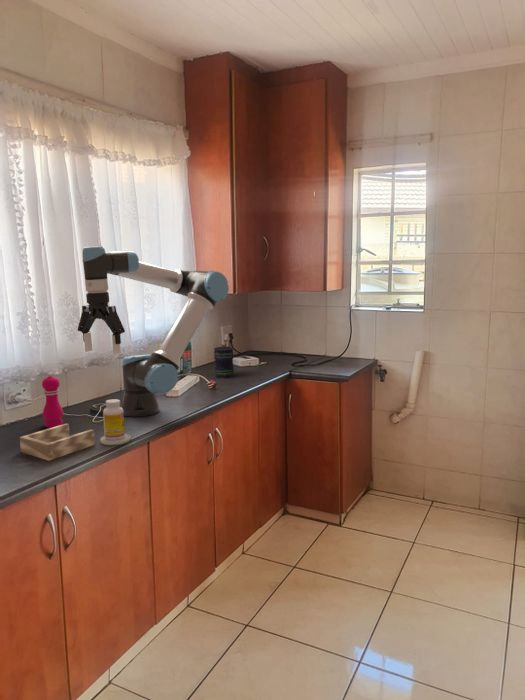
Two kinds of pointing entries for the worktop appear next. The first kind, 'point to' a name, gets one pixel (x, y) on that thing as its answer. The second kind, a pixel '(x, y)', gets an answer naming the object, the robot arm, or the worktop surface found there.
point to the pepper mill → (52, 402)
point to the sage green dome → (115, 442)
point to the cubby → (55, 442)
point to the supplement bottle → (113, 420)
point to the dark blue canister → (223, 362)
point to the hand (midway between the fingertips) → (102, 352)
